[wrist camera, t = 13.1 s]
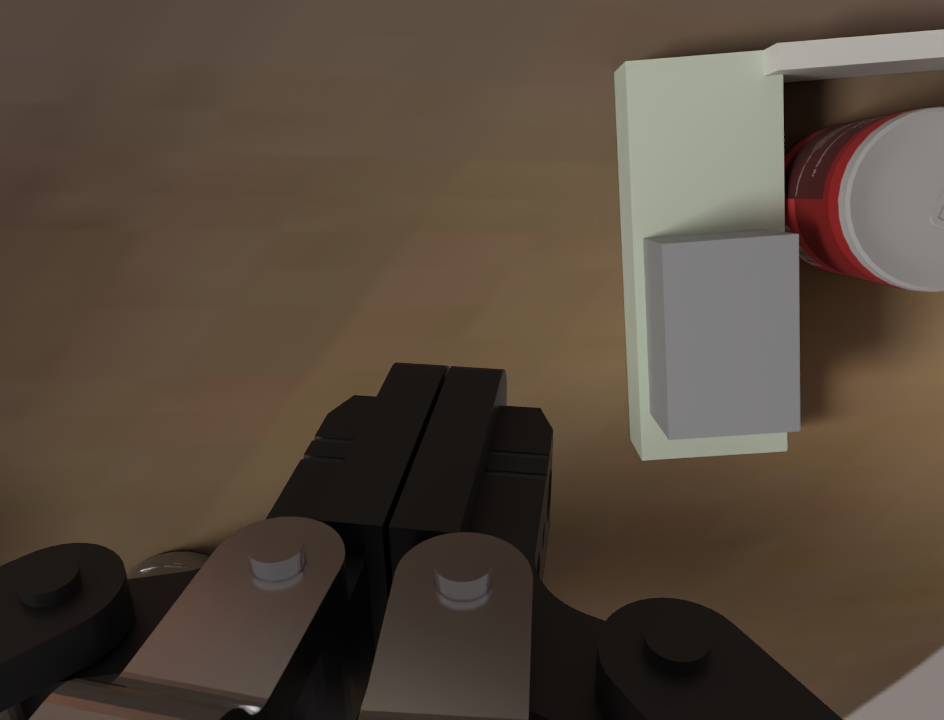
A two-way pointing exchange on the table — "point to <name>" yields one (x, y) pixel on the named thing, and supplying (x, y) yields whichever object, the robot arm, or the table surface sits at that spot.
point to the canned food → (872, 199)
